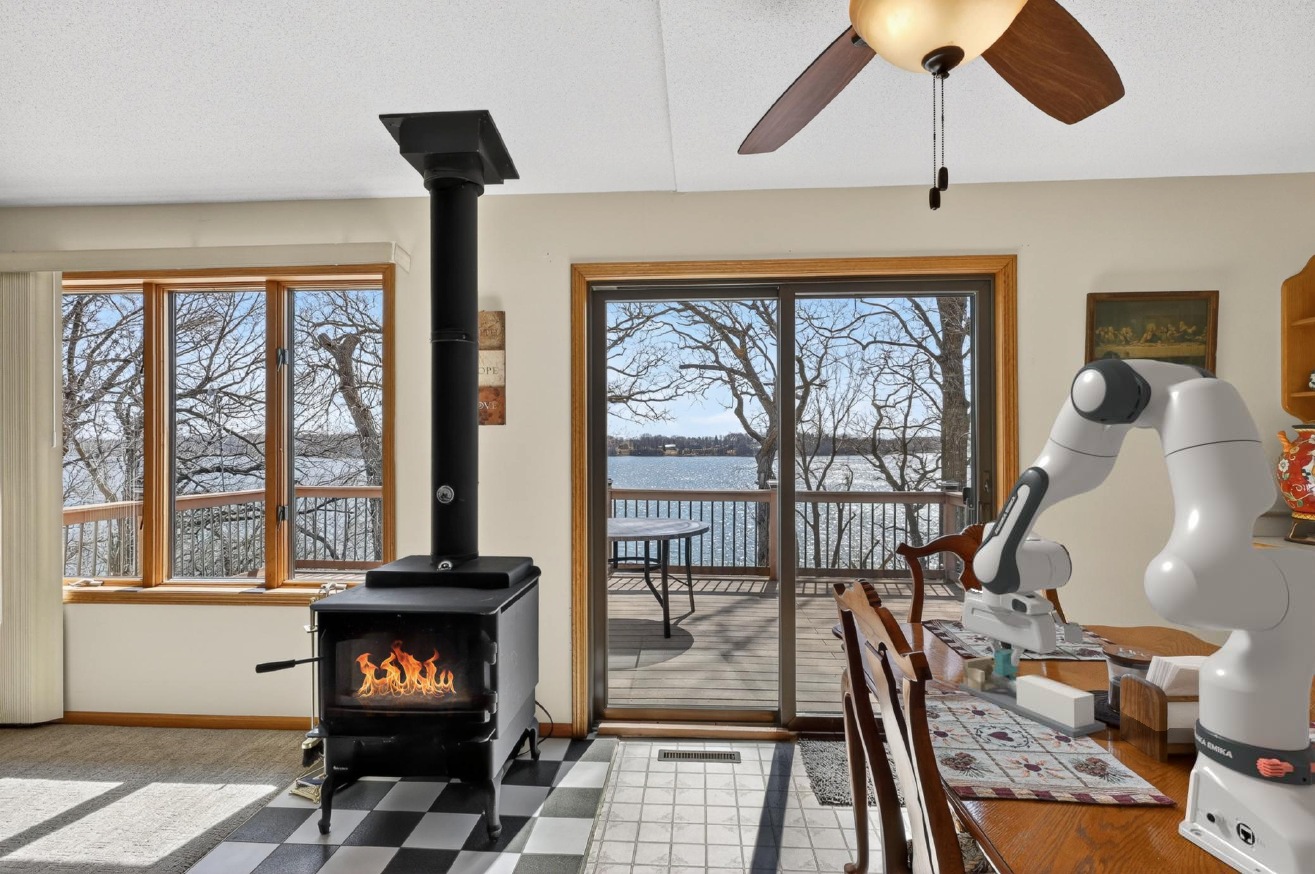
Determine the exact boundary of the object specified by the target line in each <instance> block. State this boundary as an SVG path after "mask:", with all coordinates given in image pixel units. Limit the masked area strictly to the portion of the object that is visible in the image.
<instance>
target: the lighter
mask: <svg viewBox="0 0 1315 874" xmlns="http://www.w3.org/2000/svg"><path fill="white" fill-rule="evenodd" d="M1050 614H1051V616H1052V617H1053V619H1054V621H1055V623H1056V624H1057V625H1058V628H1061V627H1063V641H1064V643H1065V642H1066V643H1074V644H1081V643H1082V644H1083V643H1084V642H1083V641H1084V640H1083V626H1082V625H1080V624H1079V623H1078V622H1076V621H1068V624H1065V623H1064V621H1063V620H1062V618H1061V617H1060V615H1059V613H1058V612H1057V610H1056V609H1053V611H1052V612H1050Z"/></svg>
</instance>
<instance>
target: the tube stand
mask: <svg viewBox="0 0 1315 874" xmlns="http://www.w3.org/2000/svg"><path fill="white" fill-rule="evenodd" d="M1016 680H1017V694H1014V693H1012V692H1009V691H1007V690H1004V689H1002V688H995V689H990V690H985V691H979V690H976V689H974V688H971V687H969V686H967V685H964V684H963V682H961V683H958V684H957V687H958V688H957V689H958V690H960V691H963V692H965V693H968V694H970V695H972V696H975V697H977V698H980V699H982V700H984V701H986V702H988V703H991V704H992V705H996V706H998V707H1000V708H1003V709H1005V710H1006V711H1009V712H1012V713H1015V714H1017V715H1019V716H1021V717H1024V718H1026V719H1029V720H1030V721H1033V722H1035V723H1038V724H1040V725H1043V726H1045V727H1047V728H1050V729H1052V730H1055V731H1057V732H1059V733H1061V734H1064V735H1066V736H1069V737H1071V738H1077V737H1081V736H1085V735H1088V734H1092V733H1093V734H1094V733H1097V732H1101V731H1105V730H1107V724H1106V723H1105V722H1102V721H1099V720H1096V719H1095V694H1094V693H1091V692H1088V691H1084V690H1082V689H1079V688H1078V687H1077V688H1076V687H1073V686H1072V685H1068V684H1065V683H1062V682H1059V681H1057V680H1054V679H1051V678H1048V677H1045V676H1043V675H1039V674H1037V673H1033V674H1028V675H1022V676H1017V677H1016Z"/></svg>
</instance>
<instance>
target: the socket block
mask: <svg viewBox="0 0 1315 874" xmlns="http://www.w3.org/2000/svg"><path fill="white" fill-rule="evenodd" d="M992 659H993V657H990V656H981V657H975V658H968V659H963V660H962V662H963V663H962V664H963V665H962V667H963V668H962V669H963V670H962V672H963V673H962V675H963V677H962V678H963V682H962V683H963V684H964V685H967V686H969V687H971V688H974V689H976V690H979V691H985V690H990V689H995V688H999V687H997V686H994V685H993V684H992V683H991V674H992V672H993V671H994V663H992V661H993V660H992Z"/></svg>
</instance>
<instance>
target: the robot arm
mask: <svg viewBox="0 0 1315 874" xmlns="http://www.w3.org/2000/svg"><path fill="white" fill-rule="evenodd" d="M1133 428H1136V429H1143V430H1145V429H1146V430H1148V429H1149V430H1154V429H1155V430H1156V431H1157V433H1158V436H1159V439H1160V442H1161V447H1162V451H1163V455H1164V461H1165V463H1166V468H1167V473H1168V477H1169V481H1170V485H1171V491H1172V495H1173V501H1174V521H1173V526H1172V531H1171V535H1170V537H1169V538H1168V540H1167V543H1166V545H1165V546H1164V548H1163V549H1162V550H1161V551H1160V553H1158V554H1157V555H1156V556H1154V557H1153V558H1152V560H1151V561H1150V562H1149V563H1148V565H1147V567H1146V569H1145V573H1144V574H1143V589H1144V594H1145V596H1146V599H1147V601H1148V603H1149V604H1150V606H1151V608H1152V609H1153V611H1155V612H1156V613H1157V615H1159V616H1160V617H1161V618H1162V619H1164V620H1165V621H1167V622H1169V623H1171V624H1175V625H1179V626H1180V625H1181V626H1184V627H1188V628H1194V629H1199V630H1203V631H1204V630H1205V631H1215V632H1216V631H1217V632H1219V631H1231V634H1230V636H1229V637H1228V639H1227V640H1226V641H1225V643H1224V645H1222V647H1221V648H1219V649H1218V650H1217V651H1216V652H1214V653H1212V654H1210V655H1209V656H1207V658H1205V659H1204V660H1203V662H1202V663H1201V665H1200V667H1199V671H1198V706H1199V708H1198V710H1199V714H1198V716H1199V717H1198V718H1197V719H1196V720H1195V728H1194V737H1195V738H1194V740H1195V743H1194V744H1195V747H1196V749H1197V750H1198V754H1197V757H1196V761H1195V763H1194V766H1193V768H1192V770H1191V771H1190V777H1189V785H1188V793H1187V803H1186V809H1185V810H1186V812H1185V818H1184V819H1183V820H1182V821H1180V822H1179V825H1178V833H1179V835H1181V836H1182V837H1184V838H1185V839H1187V840H1188V841H1191V842H1192V843H1193V844H1195V845H1197V846H1198V847H1199V848H1202V850H1205V851H1206V852H1208V853H1209V854H1211V855H1212V856H1214V857H1215V858H1217V859H1219V860H1221V861H1222V862H1223V863H1225V864H1226V865H1228V866H1230V867H1232V868H1233V869H1235V870H1236V871H1238V872H1239V873H1240V874H1315V746H1314V744H1313V743H1312V742H1311V741H1310V713H1311V712H1310V707H1311V706H1310V705H1311V691H1312V685H1313V680H1314V676H1315V551H1314V550H1308V549H1303V548H1297V547H1255V545H1254V541H1253V535H1254V534H1253V533H1254V526H1255V523H1256V520H1257V518H1258V517H1260V516H1262V515H1264V514H1265V513H1266V512H1268V511H1269V510H1270V509H1271V508H1272V507H1274V505H1275V503H1276V501H1277V497H1278V490H1277V487H1276V484H1275V482H1274V478H1273V475H1272V472H1271V469H1270V464H1269V462H1268V459H1267V456H1266V452H1265V449H1264V443H1263V442H1262V439H1261V435H1260V433H1259V430H1258V428H1257V425H1256V423H1255V420H1254V418H1253V417H1252V414H1251V411H1250V409H1249V408H1248V406H1247V405H1246V402H1245V401H1244V399H1243V397H1242V396H1241V394H1240V392H1239V390H1237V388H1236V387H1235V386H1234V385H1233V384H1232V383H1230V382H1228V381H1226V380H1223V379H1220V378H1218V377H1217V376H1216V375H1215V374H1214V373H1212V372H1211V371H1209V370H1207V369H1205V368H1202V367H1199V366H1196V365H1192V364H1186V363H1183V364H1177V363H1172V362H1166V361H1158V360H1155V359H1144V358H1143V359H1140V358H1139V359H1135V358H1134V359H1130V358H1129V359H1119V358H1105V359H1101V360H1095V361H1092V362H1089V363H1087V364H1085V365H1083V366H1082V367H1081V368H1080V369H1079V370H1078V371H1077V373H1076V374H1075V376H1074V378H1073V381H1072V384H1071V387H1070V394H1069V395H1068V397H1067V399H1066V400H1065V401H1064V403H1063V405H1062V407H1061V409H1060V410H1059V412H1058V415H1057V417H1056V419H1055V421H1054V423H1053V425H1052V428H1051V431H1050V433H1049V436H1048V439H1047V441H1046V442H1045V446H1044V448H1043V449H1042V451H1041V452H1040V453H1039V455H1038V457H1037V458H1036V459H1035V460H1034V462H1033V463H1032V464H1031V465H1030V466H1029V468H1027V469H1026V470H1025V471H1023V473H1022V474H1020V476H1019V477H1018V479H1017V480H1016V482H1015V483H1014V485H1013V486H1012V489H1011V491H1009V494H1008V496H1007V498H1006V500H1005V502H1004V504H1003V506H1002V508H1001V510H1000V512H999V514H998V516H997V518H996V519H995V520H991V521H989V522H988V523H986V524H985V525H984V529H983V531H982V532H983V533H982V540H981V543H980V545H979V546H978V548H977V549H976V550H975V553H974V555H973V557H972V558H973V559H972V563H971V564H972V566H971V567H972V572H973V575H974V576H975V579H976V580H977V581H978V582H979V584H980V585H981V589H976V588H975V587H974V588H973V587H972V588H969V589H968V590H966V592H964V602H963V605H962V606H963V607H962V614H961V615H962V616H961V625H962V626H963V629H964V630H966V631H968V632H972V633H974V634H977V635H981V636H984V637H987V642H988V644H989V646H990V649H991V651H992V659H993V660H994V652H995V651H1001V650H1002V648H1001V647H1002V646H1001V644H1000V642H1001V641H1003V642H1006V643H1009V644H1011V649H1012V650H1014V651H1013V653H1012V655H1011V656H1007V660H1008V661H1007V663H1008V664H1009V665H1012V666H1018V667H1019V665H1020V658H1021V656H1022V655H1023V653H1025V651H1024V650H1025V649H1028V651H1031V652H1035V653H1038V654H1041V655H1043V654H1045V655H1046V654H1049V653H1050V654H1051V653H1053V652H1054V651H1055V650H1056V647H1057V629H1056V620H1055V618H1054V617H1053V615H1052V614H1051V612H1052V611H1054V607H1055V606H1054V603H1053V602H1052V601H1050V600H1049V599H1047V598H1046V597H1044V596H1042V595H1040V594H1039V593H1037V592H1036V591H1043V590H1046V591H1047V590H1055V589H1058V588H1062V587H1064V586H1065V585H1067V584H1068V582H1069V581H1070V578H1071V576H1072V574H1073V564H1072V559H1071V556H1070V554H1069V552H1068V551H1067V549H1065V547H1064V546H1063V545H1061V544H1060V543H1058V542H1056V541H1052V540H1050V539H1047V538H1045V537H1043V536H1041V535H1039V534H1038V533H1036V532H1035V531H1034V530H1033V528H1034V526H1035V524H1036V522H1037V520H1038V519H1039V517H1041V515H1042V514H1043V513H1044V512H1045V511H1046V510H1047V509H1049V508H1050V507H1052V506H1054V505H1056V504H1059V503H1060V502H1062V501H1065V500H1067V499H1070V498H1072V497H1075V496H1078V495H1082V494H1085V493H1088V492H1091V491H1093V490H1095V489H1097V488H1098V487H1100V486H1101V485H1102V484H1103V483H1104V482H1105V481H1106V479H1107V478H1108V476H1109V475H1110V474H1111V473H1112V471H1113V468H1114V467H1115V465H1116V461H1117V460H1118V456H1119V453H1120V452H1121V450H1122V449H1121V448H1122V445H1123V443H1124V440H1125V438H1126V436H1127V434H1128V432H1129V431H1131V429H1133Z"/></svg>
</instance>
